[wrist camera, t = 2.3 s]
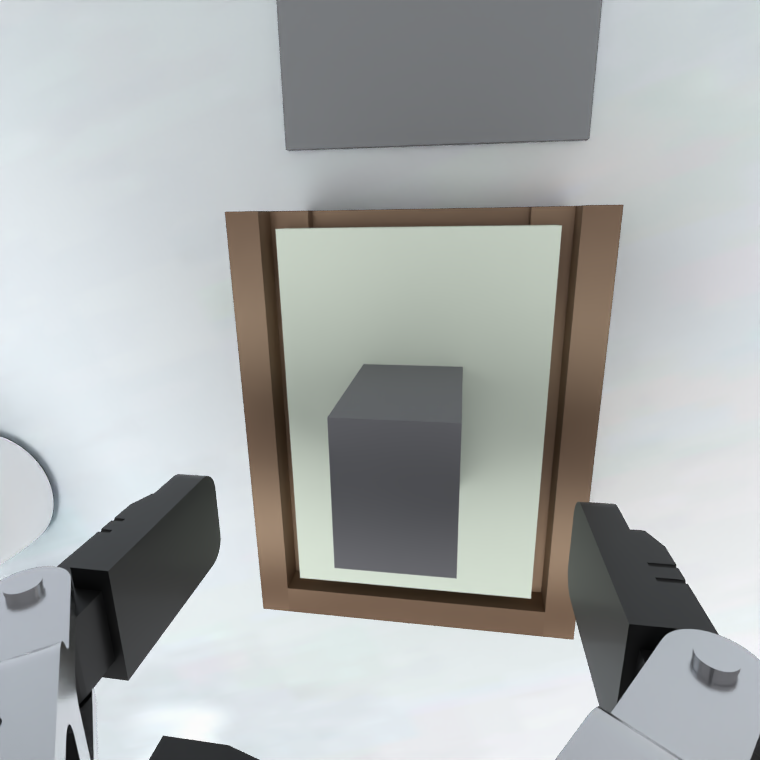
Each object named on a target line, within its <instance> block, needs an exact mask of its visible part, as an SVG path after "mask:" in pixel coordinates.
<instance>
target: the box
mask: <svg viewBox="0 0 760 760" xmlns="http://www.w3.org/2000/svg"><path fill="white" fill-rule="evenodd" d="M622 213H623V205H586V206H552V207H505V208H448V209H390V210H333V211H245V212H225V218H226V228H227V238H228V249H229V259H230V269H231V279H232V290H233V300H234V310H235V321H236V331H237V341H238V351H239V362H240V372H241V382H242V392H243V403H244V413H245V423H246V434H247V444H248V454H249V464H250V475H251V485H252V495H253V506H254V516H255V526H256V536H257V547H258V557H259V567H260V577H261V588H262V598H263V608H264V609H274V610H284V611H294V612H304V613H314V614H324V615H334V616H344V617H353V618H363V619H373V620H383V621H393V622H403V623H413V624H423V625H433V626H443V627H453V628H463V629H473V630H483V631H493V632H503V633H513V634H523V635H533V636H543V637H553V638H563V639H573V638H574V629H575V621H576V619H575V615H574V611H573V608H572V604H571V600H570V596H569V589H568V562H569V553H570V543H571V534H572V525H573V516H574V509H575V505H576V503H577V502H589V499H590V491H591V482H592V473H593V465H594V456H595V447H596V439H597V430H598V421H599V413H600V404H601V395H602V386H603V378H604V369H605V360H606V352H607V343H608V334H609V326H610V317H611V308H612V300H613V291H614V282H615V274H616V265H617V256H618V248H619V239H620V230H621V222H622ZM502 225H562V231H561V243H560V255H559V267H558V279H557V291H556V303H555V315H554V327H553V339H552V351H551V363H550V375H549V387H548V399H547V411H546V423H545V435H544V447H543V458H542V470H541V482H540V494H539V506H538V518H537V530H536V542H535V554H534V566H533V578H532V590H531V599H530V598H519V597H508V596H496V595H485V594H474V593H463V592H452V591H441V590H430V589H419V588H408V587H397V586H385V585H374V584H363V583H352V582H341V581H330V580H319V579H308V578H300V568H299V554H298V540H297V526H296V511H295V497H294V483H293V469H292V455H291V441H290V427H289V413H288V399H287V385H286V370H285V356H284V342H283V328H282V314H281V300H280V286H279V272H278V258H277V244H276V230H275V229H283V228H342V227H422V226H502Z"/></svg>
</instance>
